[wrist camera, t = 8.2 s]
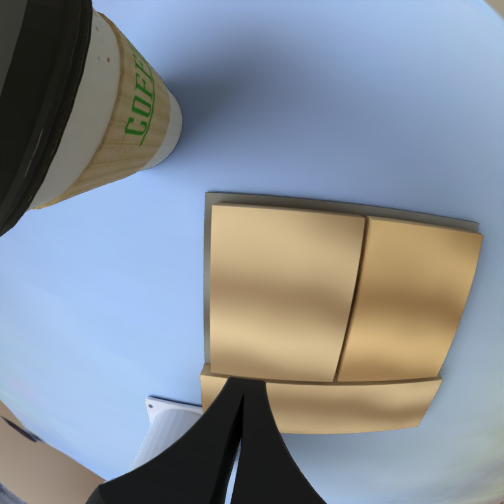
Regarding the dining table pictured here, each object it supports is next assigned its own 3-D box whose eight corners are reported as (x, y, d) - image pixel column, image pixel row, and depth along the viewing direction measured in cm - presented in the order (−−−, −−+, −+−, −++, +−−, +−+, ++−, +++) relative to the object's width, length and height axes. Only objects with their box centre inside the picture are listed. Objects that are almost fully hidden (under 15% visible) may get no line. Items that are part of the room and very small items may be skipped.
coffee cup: (231, 78, 16) (128, -87, 2) (180, 216, 19) (-3, 318, 5) (113, 55, 16) (-38, -14, 2) (72, 174, 19) (-98, 205, 5)
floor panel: (412, 413, 22) (417, 426, 21) (207, 409, 24) (203, 424, 22) (475, 222, 17) (489, 227, 15) (206, 192, 19) (199, 194, 17)
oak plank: (430, 366, 20) (436, 376, 19) (335, 369, 21) (337, 381, 20) (472, 230, 17) (483, 235, 15) (366, 215, 17) (372, 219, 16)
